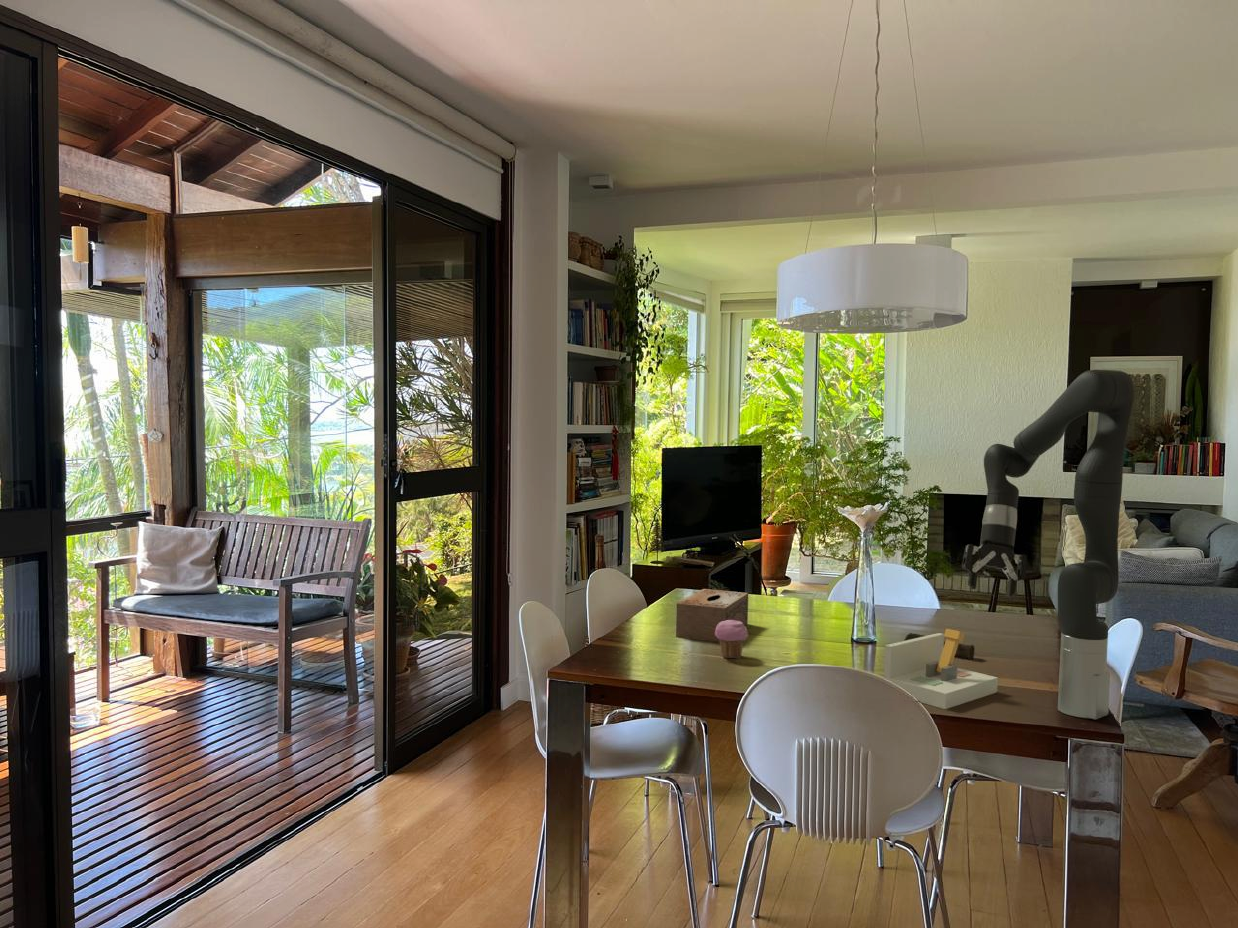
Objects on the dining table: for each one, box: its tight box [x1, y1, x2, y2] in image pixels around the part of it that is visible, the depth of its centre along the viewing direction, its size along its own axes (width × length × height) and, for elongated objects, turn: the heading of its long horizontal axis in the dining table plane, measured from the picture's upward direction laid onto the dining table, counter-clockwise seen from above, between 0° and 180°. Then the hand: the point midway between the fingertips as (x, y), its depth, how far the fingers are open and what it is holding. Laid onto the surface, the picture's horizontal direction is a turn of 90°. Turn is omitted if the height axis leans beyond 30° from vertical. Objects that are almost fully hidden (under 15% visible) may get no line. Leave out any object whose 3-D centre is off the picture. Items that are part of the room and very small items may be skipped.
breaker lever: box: [936, 628, 966, 673], centre depth 219 cm, size 2×4×10 cm, turn 39°
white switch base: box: [883, 632, 999, 710], centre depth 218 cm, size 22×16×11 cm
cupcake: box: [715, 620, 749, 659], centre depth 246 cm, size 9×9×10 cm
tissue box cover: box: [675, 588, 749, 643], centre depth 277 cm, size 26×14×10 cm, turn 157°
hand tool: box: [903, 632, 975, 661], centre depth 255 cm, size 19×4×5 cm, turn 51°
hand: (990, 592), depth 219 cm, fingers open, 8 cm apart
